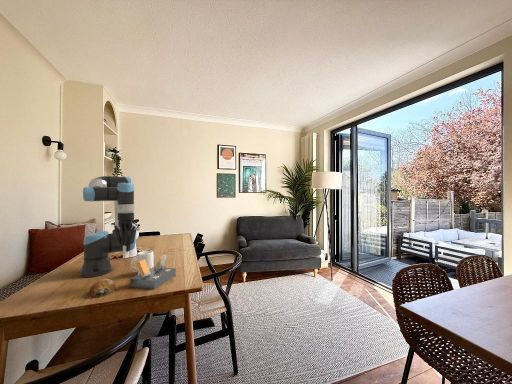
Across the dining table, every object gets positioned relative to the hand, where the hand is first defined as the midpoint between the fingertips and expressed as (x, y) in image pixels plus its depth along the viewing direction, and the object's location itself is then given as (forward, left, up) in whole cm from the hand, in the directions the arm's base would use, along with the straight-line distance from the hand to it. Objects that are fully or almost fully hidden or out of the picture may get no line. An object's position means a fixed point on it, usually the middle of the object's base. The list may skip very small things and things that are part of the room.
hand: (126, 257), depth 117 cm
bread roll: (-2, -12, -14) cm, 18 cm away
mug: (-1, +13, -13) cm, 19 cm away
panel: (+13, +5, -13) cm, 19 cm away
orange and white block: (+12, 0, -8) cm, 14 cm away
